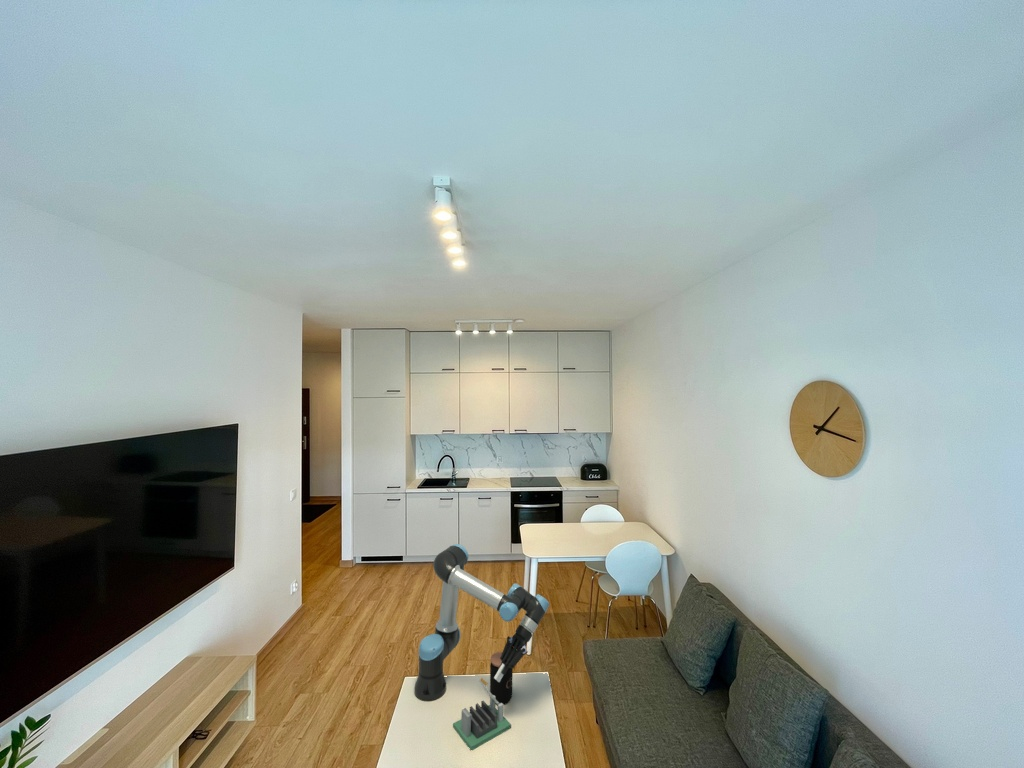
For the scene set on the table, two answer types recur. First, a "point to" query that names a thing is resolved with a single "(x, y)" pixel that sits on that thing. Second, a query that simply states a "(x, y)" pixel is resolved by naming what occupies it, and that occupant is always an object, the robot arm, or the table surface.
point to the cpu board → (481, 724)
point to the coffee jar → (503, 687)
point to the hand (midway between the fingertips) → (496, 680)
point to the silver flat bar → (488, 690)
